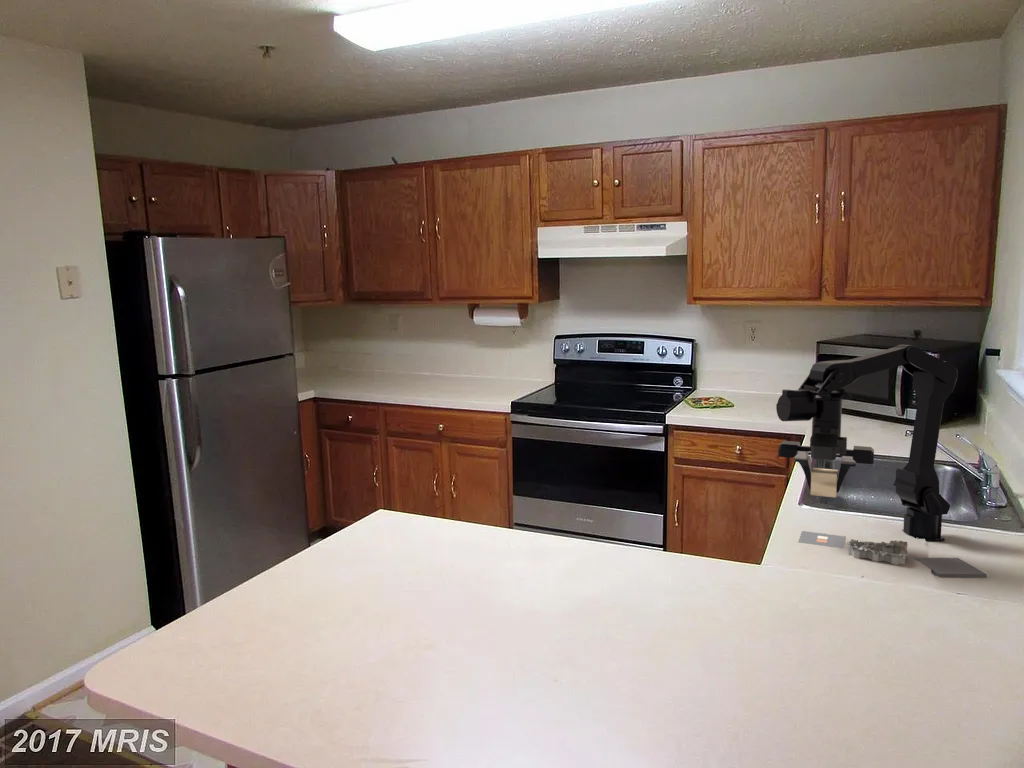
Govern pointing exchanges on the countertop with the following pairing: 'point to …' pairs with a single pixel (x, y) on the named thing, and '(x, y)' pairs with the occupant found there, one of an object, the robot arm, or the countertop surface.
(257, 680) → the countertop surface
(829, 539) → the tile
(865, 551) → the egg carton
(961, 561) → the charcoal mat
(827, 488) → the maple block
